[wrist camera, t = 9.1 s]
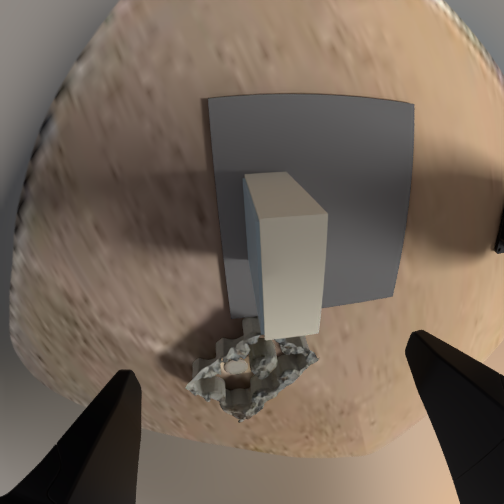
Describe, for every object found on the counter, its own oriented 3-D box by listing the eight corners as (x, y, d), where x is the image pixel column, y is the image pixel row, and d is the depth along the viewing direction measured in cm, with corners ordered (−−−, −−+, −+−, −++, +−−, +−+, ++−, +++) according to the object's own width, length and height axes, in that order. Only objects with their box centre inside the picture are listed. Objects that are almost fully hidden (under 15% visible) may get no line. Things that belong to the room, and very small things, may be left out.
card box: (285, 171, 18) (328, 213, 11) (287, 256, 21) (318, 333, 14) (242, 174, 18) (255, 219, 11) (247, 260, 21) (262, 340, 13)
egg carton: (235, 394, 29) (238, 426, 25) (178, 363, 26) (174, 397, 22) (317, 341, 26) (329, 374, 22) (263, 297, 23) (270, 333, 19)
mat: (411, 103, 17) (414, 104, 16) (390, 294, 24) (392, 296, 24) (208, 98, 16) (208, 98, 15) (230, 315, 23) (231, 318, 23)
